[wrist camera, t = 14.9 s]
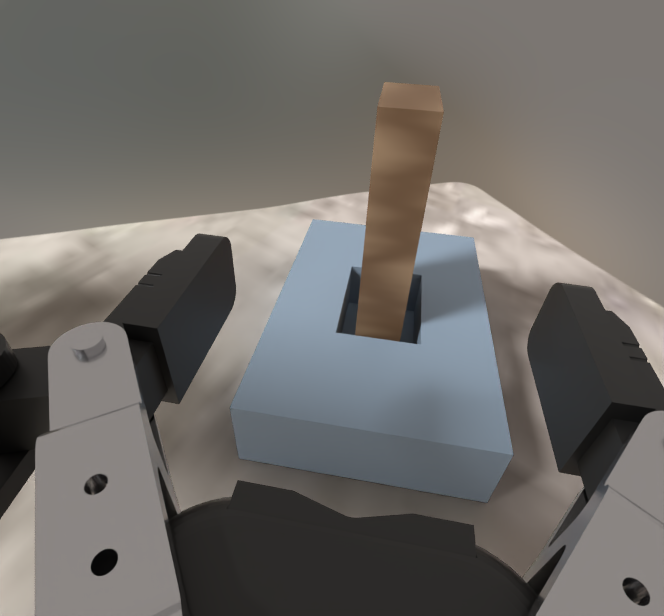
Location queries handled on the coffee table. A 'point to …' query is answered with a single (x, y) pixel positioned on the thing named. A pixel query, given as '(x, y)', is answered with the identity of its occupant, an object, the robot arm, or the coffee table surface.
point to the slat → (396, 204)
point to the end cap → (378, 374)
